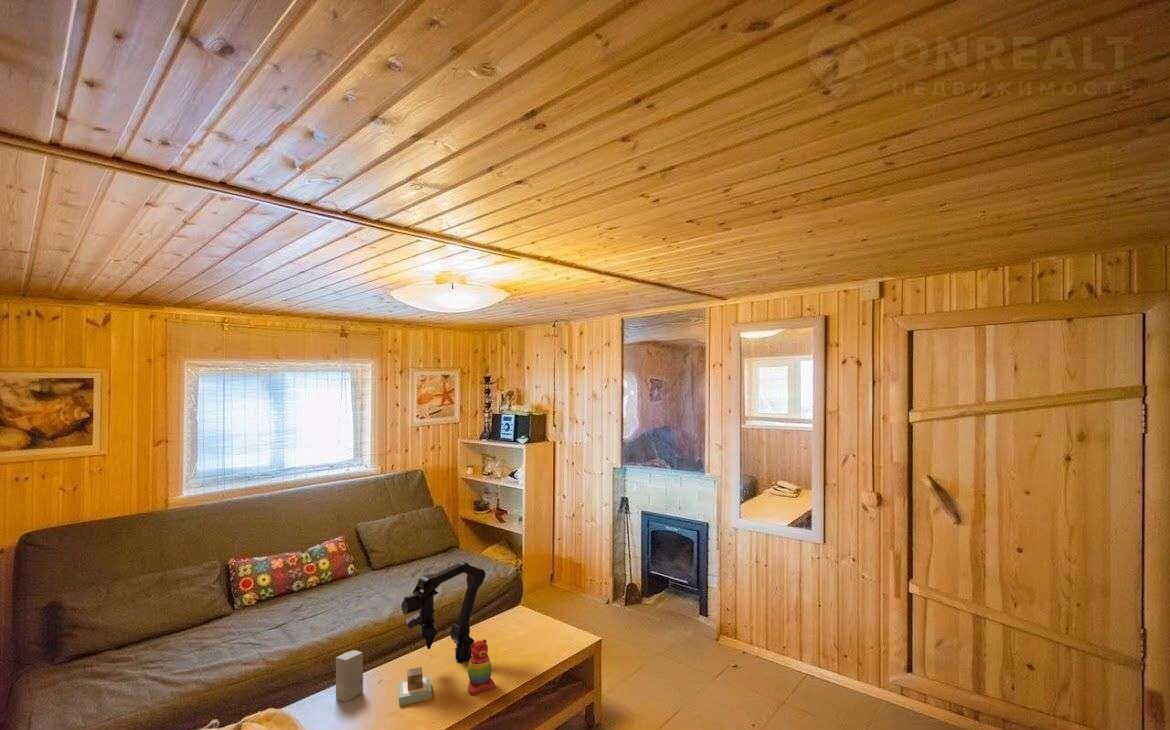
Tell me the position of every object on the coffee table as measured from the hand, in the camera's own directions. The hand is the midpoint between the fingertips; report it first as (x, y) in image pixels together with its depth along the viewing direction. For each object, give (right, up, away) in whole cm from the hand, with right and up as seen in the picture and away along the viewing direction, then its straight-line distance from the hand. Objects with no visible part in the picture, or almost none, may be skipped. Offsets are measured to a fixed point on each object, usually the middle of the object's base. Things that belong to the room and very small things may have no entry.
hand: (427, 644), depth 224 cm
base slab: (0, -12, -16) cm, 19 cm away
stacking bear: (+25, -11, -11) cm, 30 cm away
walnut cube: (-1, -8, -15) cm, 17 cm away
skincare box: (-27, -13, -15) cm, 33 cm away
